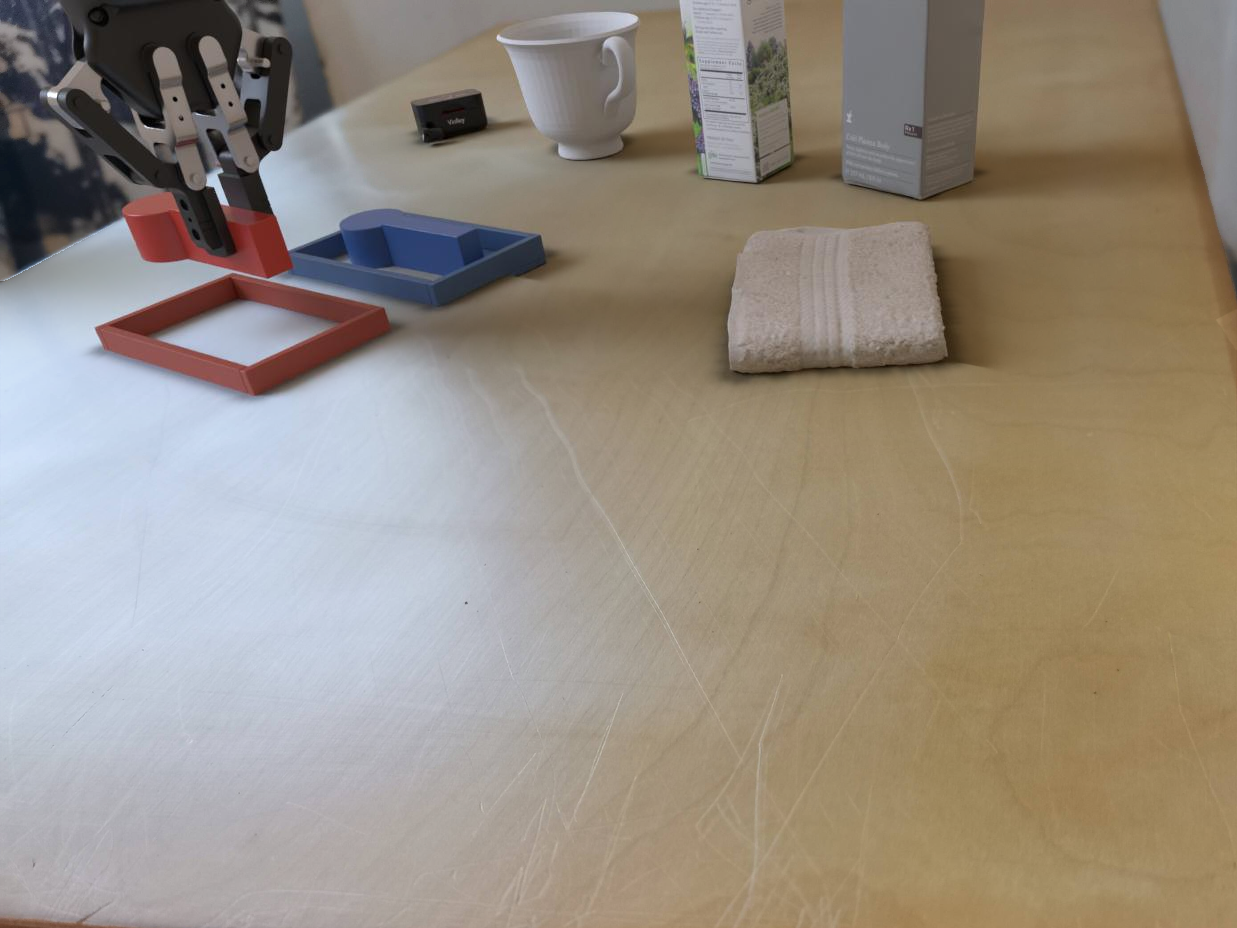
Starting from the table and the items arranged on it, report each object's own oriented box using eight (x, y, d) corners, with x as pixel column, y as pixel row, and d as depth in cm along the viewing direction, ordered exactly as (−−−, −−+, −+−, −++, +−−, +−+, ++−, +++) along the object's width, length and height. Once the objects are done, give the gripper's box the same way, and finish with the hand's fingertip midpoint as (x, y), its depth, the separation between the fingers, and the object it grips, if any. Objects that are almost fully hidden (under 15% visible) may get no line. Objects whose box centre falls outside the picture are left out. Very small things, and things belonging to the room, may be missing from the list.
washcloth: (928, 253, 74) (927, 206, 72) (954, 374, 59) (954, 318, 57) (746, 266, 74) (741, 218, 72) (729, 388, 60) (722, 333, 58)
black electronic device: (410, 139, 108) (400, 103, 106) (481, 123, 111) (473, 88, 109) (425, 148, 105) (415, 111, 103) (498, 132, 108) (489, 96, 106)
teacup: (583, 187, 91) (557, 51, 85) (498, 155, 101) (470, 31, 95) (704, 152, 97) (688, 23, 91) (614, 125, 106) (594, 6, 100)
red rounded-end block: (126, 256, 67) (104, 205, 65) (192, 232, 70) (173, 183, 68) (247, 287, 62) (226, 233, 60) (313, 260, 65) (295, 207, 63)
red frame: (107, 356, 70) (93, 327, 69) (243, 299, 76) (232, 272, 75) (258, 403, 63) (245, 372, 61) (394, 337, 69) (384, 307, 68)
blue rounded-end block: (338, 265, 79) (324, 222, 77) (387, 244, 82) (374, 202, 80) (454, 289, 74) (442, 243, 72) (502, 266, 76) (491, 221, 75)
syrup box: (738, 158, 95) (716, -40, 86) (797, 164, 92) (782, -39, 83) (698, 178, 91) (672, -26, 82) (759, 185, 88) (739, -26, 79)
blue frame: (290, 280, 78) (281, 253, 77) (399, 235, 85) (391, 209, 84) (440, 314, 71) (432, 284, 70) (546, 262, 78) (541, 234, 77)
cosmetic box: (840, 184, 87) (828, -52, 77) (902, 161, 91) (898, -68, 81) (924, 204, 82) (921, -47, 72) (986, 178, 85) (991, -64, 76)
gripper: (186, -128, 60) (300, 203, 70) (-88, -93, 51) (89, 281, 61) (273, -133, 56) (379, 217, 67) (-4, -96, 47) (168, 301, 58)
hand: (240, 246), depth 64 cm, fingers closed on red rounded-end block, 2 cm apart
